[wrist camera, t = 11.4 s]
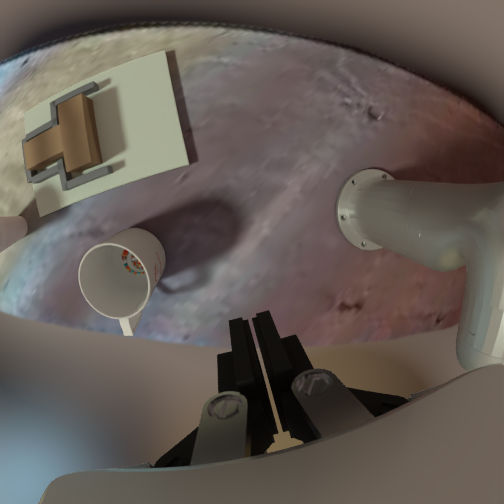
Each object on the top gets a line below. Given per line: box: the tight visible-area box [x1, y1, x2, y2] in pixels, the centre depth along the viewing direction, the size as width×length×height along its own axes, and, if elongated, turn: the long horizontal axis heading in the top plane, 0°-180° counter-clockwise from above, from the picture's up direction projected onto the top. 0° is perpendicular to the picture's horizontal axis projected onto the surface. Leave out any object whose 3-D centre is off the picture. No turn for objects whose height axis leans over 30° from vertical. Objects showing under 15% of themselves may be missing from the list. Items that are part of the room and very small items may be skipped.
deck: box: [22, 50, 190, 217], centre depth 32 cm, size 25×18×3 cm
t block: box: [23, 93, 103, 173], centre depth 30 cm, size 11×10×4 cm
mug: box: [79, 228, 166, 336], centre depth 34 cm, size 12×9×11 cm
